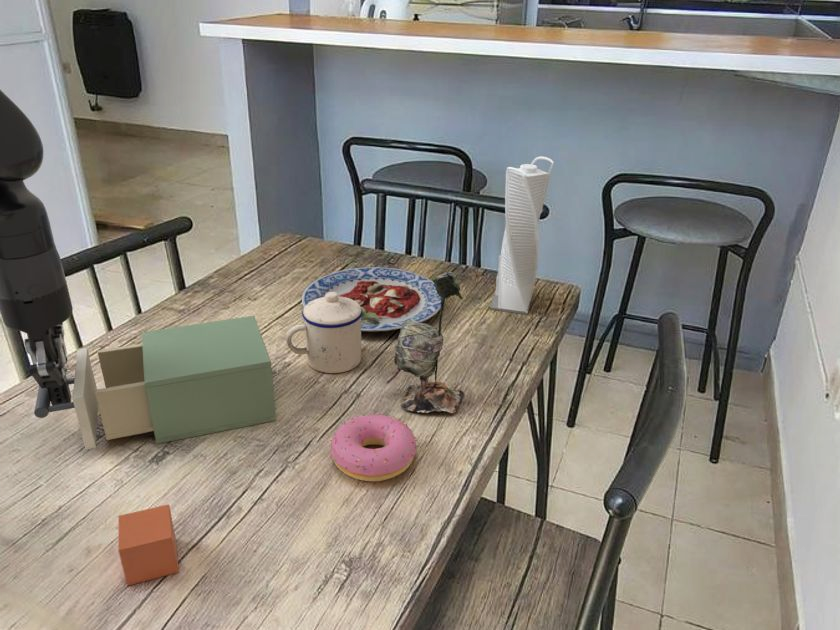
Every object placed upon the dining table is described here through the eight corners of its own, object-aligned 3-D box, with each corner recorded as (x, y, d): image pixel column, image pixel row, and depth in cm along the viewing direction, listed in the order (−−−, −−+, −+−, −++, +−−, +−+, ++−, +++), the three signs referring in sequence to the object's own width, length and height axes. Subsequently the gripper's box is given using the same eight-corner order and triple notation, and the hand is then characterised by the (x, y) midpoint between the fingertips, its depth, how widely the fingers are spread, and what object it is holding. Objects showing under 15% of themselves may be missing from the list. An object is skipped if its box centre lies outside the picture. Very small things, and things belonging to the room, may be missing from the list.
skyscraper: (539, 299, 129) (556, 152, 116) (534, 318, 122) (552, 164, 109) (495, 293, 131) (507, 148, 118) (488, 312, 124) (500, 160, 111)
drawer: (41, 458, 84) (25, 406, 81) (49, 403, 95) (36, 355, 91) (204, 426, 91) (196, 377, 87) (196, 378, 101) (188, 332, 97)
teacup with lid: (351, 341, 114) (349, 277, 108) (371, 367, 106) (370, 301, 101) (280, 355, 109) (275, 289, 104) (296, 384, 102) (291, 315, 96)
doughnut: (326, 437, 91) (325, 412, 89) (406, 428, 93) (407, 402, 91) (336, 493, 81) (334, 466, 79) (425, 481, 84) (426, 454, 82)
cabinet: (156, 444, 89) (144, 382, 84) (152, 389, 100) (141, 331, 95) (276, 420, 94) (270, 361, 89) (259, 370, 105) (254, 315, 101)
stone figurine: (403, 376, 104) (405, 256, 95) (471, 396, 100) (480, 272, 91) (377, 403, 98) (376, 277, 89) (449, 426, 94) (455, 295, 84)
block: (127, 586, 69) (118, 550, 67) (126, 550, 73) (118, 515, 71) (179, 572, 70) (172, 537, 68) (175, 538, 75) (169, 503, 72)
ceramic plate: (347, 267, 140) (347, 254, 139) (464, 293, 131) (465, 279, 130) (273, 320, 119) (272, 305, 118) (405, 355, 110) (406, 339, 109)
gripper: (2, 265, 85) (35, 382, 93) (-16, 312, 74) (24, 439, 82) (69, 258, 87) (95, 372, 95) (61, 302, 76) (91, 427, 84)
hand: (62, 403), depth 89 cm, fingers closed
